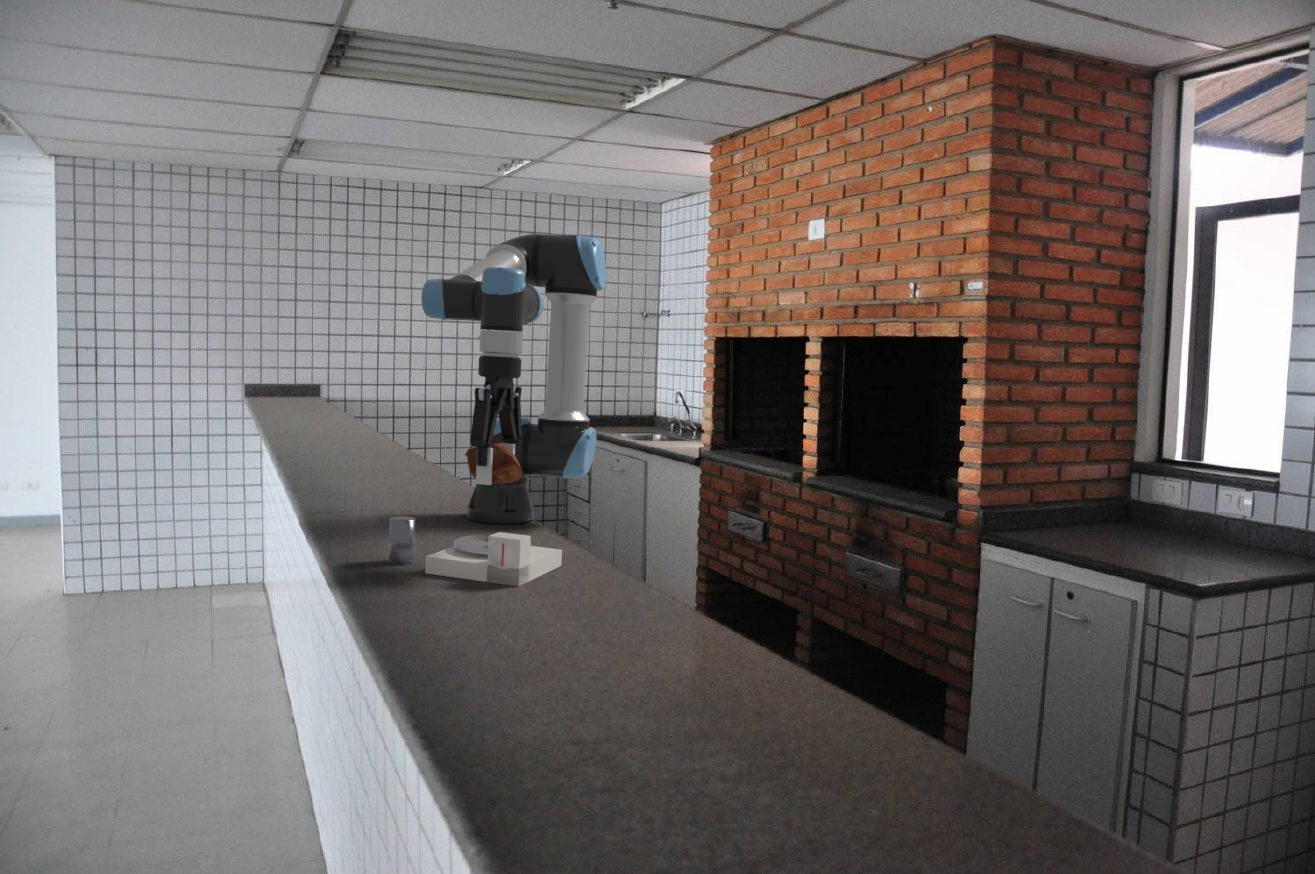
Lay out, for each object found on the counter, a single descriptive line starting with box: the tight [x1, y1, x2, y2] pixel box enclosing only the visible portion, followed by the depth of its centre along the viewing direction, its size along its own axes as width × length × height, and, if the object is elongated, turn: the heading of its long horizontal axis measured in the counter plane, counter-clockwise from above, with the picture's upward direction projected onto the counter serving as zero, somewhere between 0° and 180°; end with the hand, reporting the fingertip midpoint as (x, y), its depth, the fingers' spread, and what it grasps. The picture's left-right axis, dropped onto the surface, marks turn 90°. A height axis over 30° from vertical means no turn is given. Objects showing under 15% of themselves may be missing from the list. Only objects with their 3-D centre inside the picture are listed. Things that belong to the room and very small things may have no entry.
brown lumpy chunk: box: [464, 443, 522, 484], centre depth 180 cm, size 13×8×10 cm
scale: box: [424, 531, 563, 587], centre depth 180 cm, size 18×18×8 cm
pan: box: [452, 534, 532, 555], centre depth 182 cm, size 14×14×2 cm
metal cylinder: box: [387, 516, 417, 566], centre depth 182 cm, size 5×5×8 cm
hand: (495, 481), depth 181 cm, fingers closed on brown lumpy chunk, 8 cm apart
